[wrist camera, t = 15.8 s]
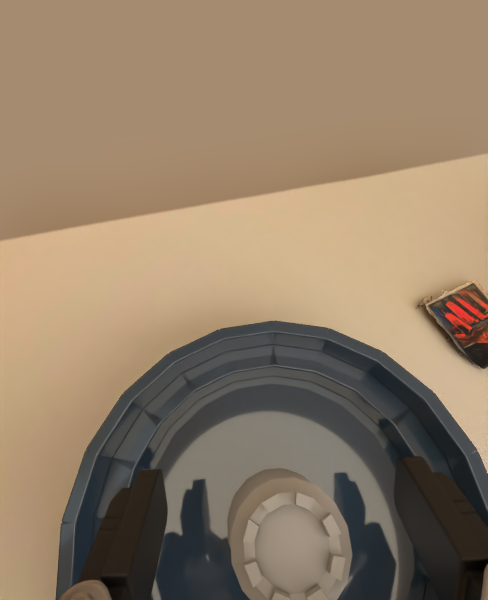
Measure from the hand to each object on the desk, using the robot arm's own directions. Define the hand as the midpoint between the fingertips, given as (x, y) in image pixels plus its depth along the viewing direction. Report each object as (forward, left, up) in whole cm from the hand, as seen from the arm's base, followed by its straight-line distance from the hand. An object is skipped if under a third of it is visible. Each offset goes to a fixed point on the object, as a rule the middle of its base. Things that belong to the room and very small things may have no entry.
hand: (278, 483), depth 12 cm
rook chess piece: (-1, -1, -5) cm, 5 cm away
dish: (-1, -1, -6) cm, 6 cm away
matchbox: (+13, -7, -6) cm, 16 cm away
